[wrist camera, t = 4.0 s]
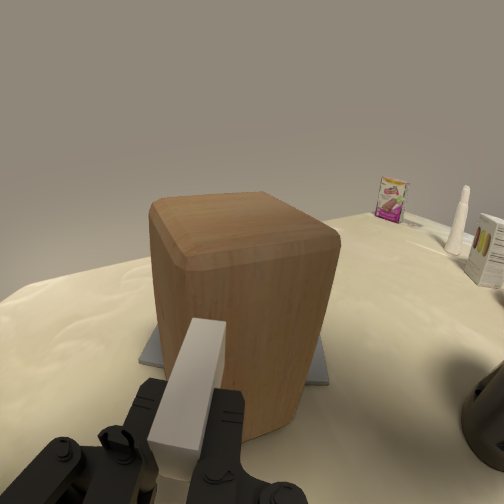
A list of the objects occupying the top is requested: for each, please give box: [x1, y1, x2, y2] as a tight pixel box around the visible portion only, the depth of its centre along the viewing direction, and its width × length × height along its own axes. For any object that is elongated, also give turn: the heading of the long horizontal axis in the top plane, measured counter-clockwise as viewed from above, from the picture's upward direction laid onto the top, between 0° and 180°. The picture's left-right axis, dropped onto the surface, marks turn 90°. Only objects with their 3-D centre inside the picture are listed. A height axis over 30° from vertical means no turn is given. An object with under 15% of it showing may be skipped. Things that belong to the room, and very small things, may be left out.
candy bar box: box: [375, 177, 410, 223], centre depth 108 cm, size 11×5×16 cm, turn 44°
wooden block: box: [149, 192, 341, 443], centre depth 23 cm, size 10×10×20 cm
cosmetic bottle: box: [444, 185, 470, 255], centre depth 77 cm, size 6×6×22 cm
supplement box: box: [464, 213, 504, 289], centre depth 59 cm, size 10×9×17 cm
